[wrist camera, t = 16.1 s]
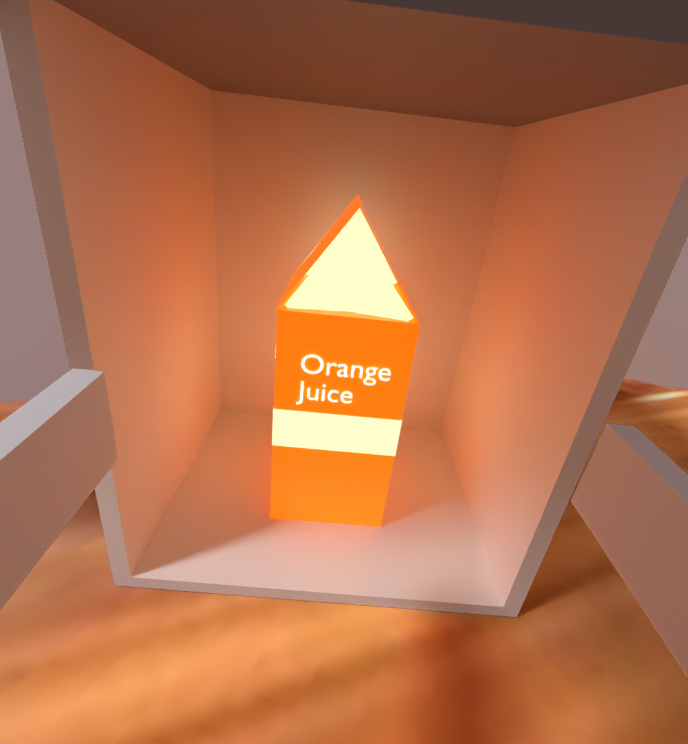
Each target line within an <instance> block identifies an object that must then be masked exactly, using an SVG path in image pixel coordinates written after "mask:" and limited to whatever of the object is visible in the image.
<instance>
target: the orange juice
mask: <svg viewBox="0 0 688 744" xmlns="http://www.w3.org/2000/svg"><path fill="white" fill-rule="evenodd" d="M361 206H362V202H361V200H360V198H359V195H357V196H356V198H355V199H354V200H353V201H352V203H351V204H350V205H349V206H348V207H347V209H346V210H345V211H344V212H343V214H342V215H341V216H340V217H339V219H338V220H337V221H336V222H335V224H334V225H333V226H332V227H331V229H330V230H329V231H328V232H327V234H326V235H325V236H324V237H323V238H322V240H321V241H320V242H319V243H318V245H317V246H316V247H315V248H314V250H313V251H312V252H311V253H310V255H309V256H308V257H307V258H306V260H305V261H304V262H303V263H302V265H301V266H300V267H299V268H298V269H297V271H296V272H295V273H294V274H293V276H292V278H291V280H290V282H289V284H288V286H287V288H286V290H285V292H284V294H283V296H282V298H281V300H280V302H279V304H278V306H277V308H278V309H277V308H276V310H277V333H276V349H275V353H276V356H275V358H276V361H275V390H274V408H273V426H272V445H273V447H272V475H271V504H270V518H277V519H289V520H301V521H314V522H326V523H338V524H350V525H363V526H375V527H381V523H382V518H383V513H384V507H385V502H386V497H387V492H388V487H389V482H390V477H391V471H392V466H393V461H394V456H395V455H396V450H397V445H398V439H399V434H400V429H401V424H402V415H403V410H404V405H405V400H406V394H407V389H408V384H409V379H410V374H411V369H412V364H413V359H414V353H415V348H416V343H417V338H418V333H419V328H420V323H419V321H418V319H417V316H416V314H415V312H414V310H413V308H412V306H411V304H410V302H409V300H408V297H407V295H406V293H405V291H404V289H403V287H402V285H401V283H399V282H398V280H397V278H396V276H395V274H394V272H393V270H392V268H391V266H390V264H389V262H388V260H387V258H386V256H385V254H384V252H383V250H382V248H381V246H380V244H379V242H378V239H377V237H376V235H375V233H374V231H373V229H372V227H371V225H370V223H369V221H368V219H367V217H366V215H365V213H364V211H363V209H362V207H361ZM360 209H361V210H360ZM276 310H275V311H276Z"/></svg>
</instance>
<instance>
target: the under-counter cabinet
mask: <svg viewBox="0 0 688 744" xmlns="http://www.w3.org/2000/svg"><path fill="white" fill-rule="evenodd" d="M0 31H1V36H2V41H3V46H4V51H5V55H6V60H7V65H8V70H9V75H10V80H11V85H12V89H13V94H14V99H15V104H16V109H17V114H18V119H19V124H20V128H21V133H22V138H23V143H24V148H25V153H26V158H27V162H28V167H29V172H30V177H31V182H32V187H33V192H34V197H35V201H36V206H37V211H38V216H39V221H40V226H41V230H42V235H43V240H44V245H45V250H46V255H47V259H48V264H49V269H50V274H51V279H52V284H53V289H54V294H55V298H56V303H57V308H58V313H59V318H60V323H61V327H62V333H63V338H64V342H65V347H66V352H67V356H68V361H69V367H70V370H72V369H73V368H74V369H84V370H93V371H103V372H104V374H105V380H106V386H107V393H108V399H109V405H110V411H111V417H112V423H113V429H114V436H115V442H116V448H117V454H118V460H117V461H116V462H115V463H114V465H113V466H112V467H111V469H110V470H109V471H108V472H107V474H106V475H105V476H104V478H103V479H102V480H101V481H100V483H99V484H98V485H97V487H96V488H95V493H96V498H97V503H98V508H99V513H100V517H101V522H102V527H103V532H104V537H105V542H106V547H107V551H108V556H109V561H110V566H111V571H112V576H113V581H114V585H115V586H128V587H141V588H153V589H166V590H178V591H191V592H204V593H216V594H229V595H242V596H254V597H267V598H279V599H292V600H305V601H317V602H330V603H343V604H355V605H368V606H380V607H393V608H406V609H418V610H431V611H444V612H456V613H469V614H481V615H494V616H507V617H517V616H518V613H519V611H520V609H521V607H522V605H523V602H524V600H525V598H526V596H527V593H528V591H529V589H530V587H531V584H532V582H533V580H534V578H535V576H536V573H537V571H538V569H539V567H540V564H541V562H542V560H543V558H544V556H545V553H546V551H547V549H548V547H549V544H550V542H551V540H552V538H553V535H554V533H555V531H556V529H557V527H558V524H559V522H560V520H561V518H562V515H563V513H564V511H565V509H566V507H567V504H568V502H569V500H570V498H571V495H572V493H573V491H574V489H575V486H576V484H577V482H578V480H579V478H580V475H581V473H582V471H583V469H584V466H585V464H586V462H587V460H588V457H589V455H590V453H591V451H592V449H593V446H594V444H595V442H596V440H597V437H598V435H599V433H600V431H601V429H602V426H603V424H604V422H605V420H606V417H607V415H608V413H609V411H610V408H611V406H612V404H613V402H614V400H615V397H616V395H617V393H618V391H619V388H620V386H621V384H622V382H623V379H624V377H625V375H626V373H627V371H628V368H629V366H630V364H631V362H632V359H633V357H634V355H635V353H636V351H637V348H638V346H639V344H640V342H641V339H642V337H643V335H644V333H645V330H646V328H647V326H648V324H649V322H650V319H651V317H652V315H653V313H654V310H655V308H656V306H657V304H658V301H659V299H660V297H661V295H662V292H663V290H664V288H665V286H666V284H667V281H668V279H669V277H670V275H671V273H672V270H673V268H674V266H675V263H676V261H677V259H678V257H679V255H680V252H681V250H682V248H683V246H684V244H685V241H686V239H687V237H688V0H0ZM357 195H359V198H360V200H361V202H362V206H361V207H362V209H363V211H364V213H365V215H366V217H367V219H368V221H369V223H370V225H371V227H372V229H373V231H374V233H375V235H376V237H377V239H378V242H379V244H380V246H381V248H382V250H383V252H384V254H385V256H386V258H387V260H388V262H389V264H390V266H391V268H392V270H393V272H394V274H395V276H396V278H397V280H398V282H399V283H401V285H402V287H403V289H404V291H405V293H406V295H407V297H408V300H409V302H410V304H411V306H412V308H413V310H414V312H415V314H416V316H417V319H418V321H419V323H420V328H419V333H418V338H417V343H416V348H415V353H414V359H413V364H412V369H411V374H410V379H409V384H408V389H407V394H406V400H405V405H404V410H403V415H402V424H401V429H400V434H399V439H398V445H397V450H396V455H395V456H394V461H393V466H392V471H391V477H390V482H389V487H388V492H387V497H386V502H385V507H384V513H383V518H382V523H381V527H375V526H363V525H350V524H338V523H326V522H314V521H301V520H289V519H277V518H270V504H271V475H272V447H273V445H272V426H273V408H274V390H275V361H276V358H275V356H276V353H275V349H276V333H277V310H276V308H277V306H278V304H279V302H280V300H281V298H282V296H283V294H284V292H285V290H286V288H287V286H288V284H289V282H290V280H291V278H292V276H293V274H294V273H295V272H296V271H297V269H298V268H299V267H300V266H301V265H302V263H303V262H304V261H305V260H306V258H307V257H308V256H309V255H310V253H311V252H312V251H313V250H314V248H315V247H316V246H317V245H318V243H319V242H320V241H321V240H322V238H323V237H324V236H325V235H326V234H327V232H328V231H329V230H330V229H331V227H332V226H333V225H334V224H335V222H336V221H337V220H338V219H339V217H340V216H341V215H342V214H343V212H344V211H345V210H346V209H347V207H348V206H349V205H350V204H351V203H352V201H353V200H354V199H355V198H356V196H357ZM360 210H361V209H360ZM277 309H278V308H277ZM275 310H276V311H275Z"/></svg>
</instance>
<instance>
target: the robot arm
mask: <svg viewBox="0 0 688 744" xmlns="http://www.w3.org/2000/svg"><path fill="white" fill-rule="evenodd" d="M117 460H118V454H117V448H116V442H115V436H114V429H113V423H112V417H111V411H110V405H109V399H108V393H107V386H106V380H105V374H104V372H103V371H93V370H84V369H74V368H73V369H72V370H70V371H69V372H68V373H66V374H65V375H64V376H62V377H61V378H60V379H58V380H57V381H55V382H54V383H53V384H52V385H50V386H49V387H48V388H46V389H45V390H43V391H42V392H41V393H39V394H38V395H37V396H35V397H34V398H33V399H31V400H30V401H29V402H27V403H26V404H25V405H23V406H22V407H21V408H19V409H18V410H17V411H15V412H14V413H13V414H11V415H10V416H9V417H7V418H6V419H5V420H3V421H2V422H1V423H0V610H1V609H2V608H3V606H4V605H5V604H6V602H7V601H8V600H9V599H10V597H11V596H12V595H13V593H14V592H15V591H16V590H17V588H18V587H19V586H20V584H21V583H22V582H23V581H24V579H25V578H26V577H27V575H28V574H29V573H30V572H31V570H32V569H33V568H34V566H35V565H36V564H37V562H38V561H39V560H40V559H41V557H42V556H43V555H44V553H45V552H46V551H47V550H48V548H49V547H50V546H51V544H52V543H53V542H54V541H55V539H56V538H57V537H58V535H59V534H60V533H61V532H62V530H63V529H64V528H65V526H66V525H67V524H68V523H69V521H70V520H71V519H72V517H73V516H74V515H75V514H76V512H77V511H78V510H79V508H80V507H81V506H82V505H83V503H84V502H85V501H86V499H87V498H88V497H89V496H90V494H91V493H92V492H93V490H94V489H95V488H96V487H97V485H98V484H99V483H100V481H101V480H102V479H103V478H104V476H105V475H106V474H107V472H108V471H109V470H110V469H111V467H112V466H113V465H114V463H115V462H116V461H117ZM571 502H572V504H573V506H574V507H575V509H576V510H577V512H578V513H579V515H580V516H581V518H582V519H583V521H584V522H585V524H586V525H587V527H588V528H589V530H590V531H591V533H592V534H593V536H594V537H595V539H596V540H597V542H598V543H599V545H600V546H601V548H602V549H603V551H604V553H605V554H606V556H607V557H608V559H609V560H610V562H611V563H612V565H613V566H614V568H615V569H616V571H617V572H618V574H619V575H620V577H621V578H622V580H623V581H624V583H625V584H626V586H627V587H628V589H629V590H630V592H631V593H632V595H633V596H634V598H635V600H636V601H637V603H638V604H639V606H640V607H641V609H642V610H643V612H644V613H645V615H646V616H647V618H648V619H649V621H650V622H651V624H652V625H653V627H654V628H655V630H656V631H657V633H658V634H659V636H660V637H661V639H662V640H663V642H664V644H665V645H666V647H667V648H668V650H669V651H670V653H671V654H672V656H673V657H674V659H675V660H676V662H677V663H678V665H679V666H680V668H681V669H682V671H683V672H684V674H685V675H686V677H687V678H688V474H687V473H686V472H685V471H684V470H683V469H682V468H681V467H679V466H678V465H677V464H676V463H675V462H674V461H673V460H672V459H671V458H670V457H669V456H667V455H666V454H665V453H664V452H663V451H662V450H661V449H660V448H659V447H658V446H657V445H655V444H654V443H653V442H652V441H651V440H650V439H649V438H648V437H647V436H646V435H644V434H643V433H642V432H641V431H640V430H639V429H638V428H637V427H636V426H630V425H620V424H610V423H607V425H606V427H605V429H604V432H603V434H602V436H601V438H600V440H599V442H598V444H597V446H596V448H595V451H594V453H593V455H592V457H591V459H590V461H589V463H588V465H587V467H586V469H585V472H584V474H583V476H582V478H581V480H580V482H579V484H578V486H577V488H576V490H575V493H574V495H573V497H572V499H571Z"/></svg>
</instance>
